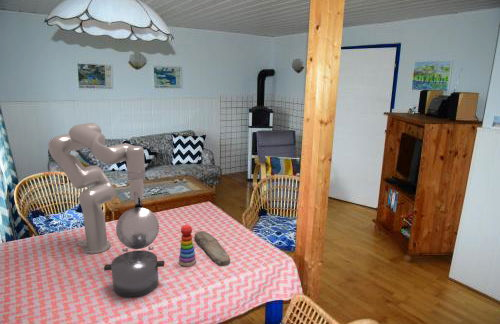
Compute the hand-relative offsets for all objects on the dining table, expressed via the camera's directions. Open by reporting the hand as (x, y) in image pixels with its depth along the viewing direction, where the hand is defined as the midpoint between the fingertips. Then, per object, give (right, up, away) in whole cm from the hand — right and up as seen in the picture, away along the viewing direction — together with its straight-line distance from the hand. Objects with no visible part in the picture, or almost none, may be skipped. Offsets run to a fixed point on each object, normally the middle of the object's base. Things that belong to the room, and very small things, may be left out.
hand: (139, 212), depth 160 cm
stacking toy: (+21, -24, +6) cm, 33 cm away
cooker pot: (+3, -28, -12) cm, 31 cm away
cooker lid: (+1, -6, -5) cm, 8 cm away
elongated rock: (+31, -22, +18) cm, 42 cm away
